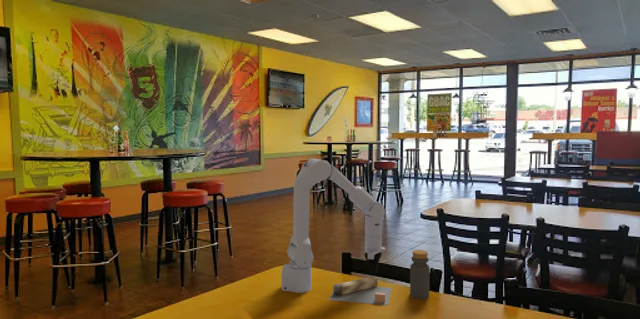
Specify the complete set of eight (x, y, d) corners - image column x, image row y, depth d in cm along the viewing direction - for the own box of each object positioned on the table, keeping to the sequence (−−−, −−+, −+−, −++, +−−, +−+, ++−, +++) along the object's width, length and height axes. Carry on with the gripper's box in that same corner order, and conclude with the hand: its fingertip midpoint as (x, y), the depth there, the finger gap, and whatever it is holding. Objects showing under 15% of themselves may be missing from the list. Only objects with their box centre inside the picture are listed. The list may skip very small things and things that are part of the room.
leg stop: (374, 301, 131) (374, 294, 131) (375, 299, 133) (375, 292, 133) (384, 302, 131) (384, 295, 130) (385, 300, 132) (385, 293, 132)
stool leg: (336, 296, 136) (336, 288, 135) (331, 292, 138) (331, 285, 138) (377, 285, 144) (377, 278, 144) (371, 283, 146) (371, 276, 146)
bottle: (429, 303, 133) (430, 255, 132) (410, 301, 134) (410, 254, 133) (428, 295, 139) (429, 249, 138) (410, 294, 140) (410, 248, 139)
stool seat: (328, 303, 133) (328, 299, 133) (337, 286, 147) (337, 283, 147) (387, 309, 129) (387, 305, 129) (391, 291, 143) (391, 287, 142)
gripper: (382, 241, 143) (382, 281, 144) (386, 230, 157) (386, 267, 158) (361, 240, 144) (361, 279, 145) (367, 229, 158) (367, 266, 160)
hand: (373, 273), depth 152 cm, fingers closed
